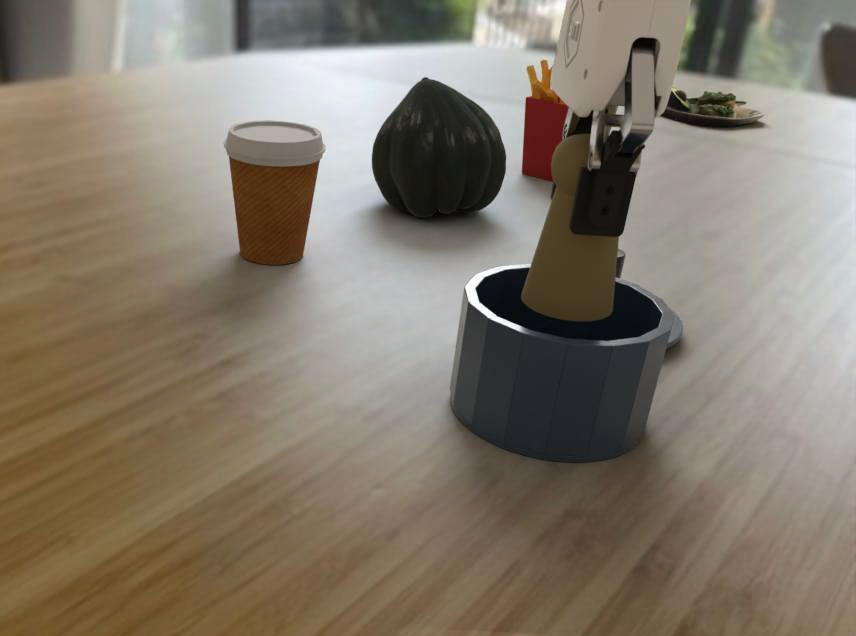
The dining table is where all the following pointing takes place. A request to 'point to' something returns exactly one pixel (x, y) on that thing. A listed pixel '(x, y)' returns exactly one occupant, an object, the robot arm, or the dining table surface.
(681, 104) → the salad plate
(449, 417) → the dining table surface
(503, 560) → the dining table surface
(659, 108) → the robot arm
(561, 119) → the french fries
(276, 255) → the disposable coffee cup
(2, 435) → the dining table surface
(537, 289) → the cork
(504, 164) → the squash
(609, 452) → the tin
